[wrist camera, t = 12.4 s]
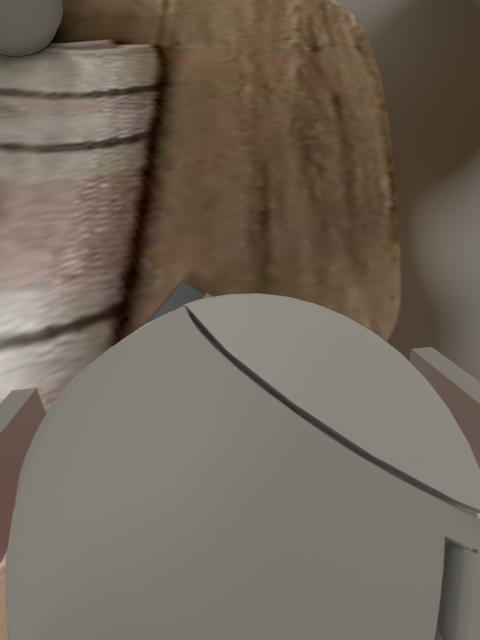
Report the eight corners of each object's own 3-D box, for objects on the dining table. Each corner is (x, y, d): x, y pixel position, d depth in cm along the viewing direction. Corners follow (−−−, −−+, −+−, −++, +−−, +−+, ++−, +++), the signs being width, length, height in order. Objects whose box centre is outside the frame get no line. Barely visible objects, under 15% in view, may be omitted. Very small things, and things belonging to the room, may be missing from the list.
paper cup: (320, 412, 18) (549, 352, 5) (281, 562, 16) (542, 1186, 3) (195, 366, 19) (121, 212, 6) (139, 502, 16) (-217, 767, 3)
